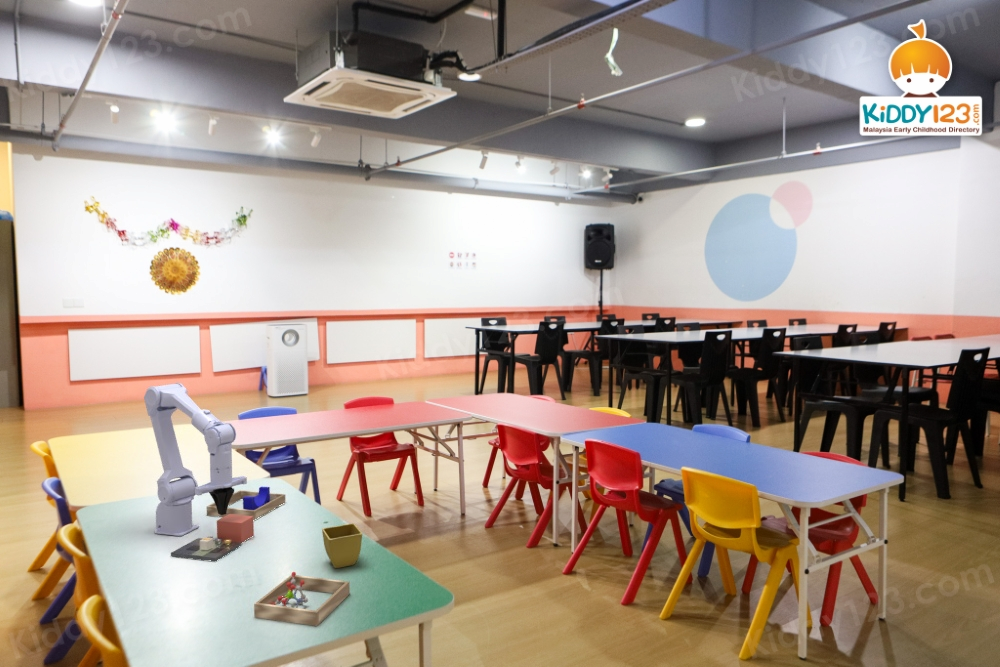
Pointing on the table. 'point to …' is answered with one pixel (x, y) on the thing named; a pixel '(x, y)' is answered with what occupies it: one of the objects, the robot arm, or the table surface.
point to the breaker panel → (212, 554)
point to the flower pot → (342, 544)
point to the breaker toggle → (206, 543)
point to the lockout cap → (235, 527)
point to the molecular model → (290, 593)
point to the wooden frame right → (296, 614)
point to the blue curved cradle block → (257, 499)
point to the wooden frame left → (274, 502)
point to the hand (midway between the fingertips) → (222, 513)
